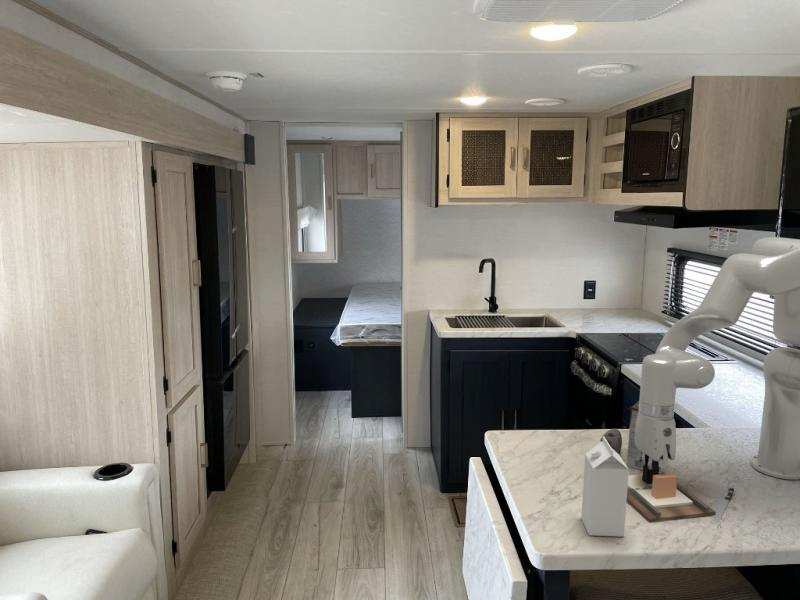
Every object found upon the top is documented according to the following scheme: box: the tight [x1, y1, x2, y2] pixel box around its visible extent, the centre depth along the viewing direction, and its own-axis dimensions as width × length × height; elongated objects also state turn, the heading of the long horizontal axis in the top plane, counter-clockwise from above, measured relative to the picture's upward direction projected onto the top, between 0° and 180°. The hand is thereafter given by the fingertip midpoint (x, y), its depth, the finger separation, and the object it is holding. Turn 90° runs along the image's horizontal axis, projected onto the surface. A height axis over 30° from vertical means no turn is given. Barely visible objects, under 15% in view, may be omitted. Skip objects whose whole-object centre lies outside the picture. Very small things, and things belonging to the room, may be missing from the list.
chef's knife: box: [711, 487, 735, 524], centre depth 138 cm, size 19×1×3 cm
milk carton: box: [580, 435, 630, 537], centre depth 127 cm, size 7×7×19 cm
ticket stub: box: [637, 472, 693, 508], centre depth 138 cm, size 10×7×6 cm
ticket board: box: [626, 472, 716, 523], centre depth 141 cm, size 16×19×2 cm
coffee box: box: [626, 400, 643, 471], centre depth 157 cm, size 9×6×16 cm
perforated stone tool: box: [600, 428, 623, 455], centre depth 163 cm, size 15×5×7 cm, turn 150°
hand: (650, 482), depth 144 cm, fingers closed
